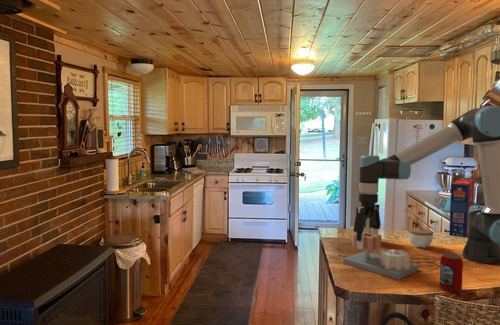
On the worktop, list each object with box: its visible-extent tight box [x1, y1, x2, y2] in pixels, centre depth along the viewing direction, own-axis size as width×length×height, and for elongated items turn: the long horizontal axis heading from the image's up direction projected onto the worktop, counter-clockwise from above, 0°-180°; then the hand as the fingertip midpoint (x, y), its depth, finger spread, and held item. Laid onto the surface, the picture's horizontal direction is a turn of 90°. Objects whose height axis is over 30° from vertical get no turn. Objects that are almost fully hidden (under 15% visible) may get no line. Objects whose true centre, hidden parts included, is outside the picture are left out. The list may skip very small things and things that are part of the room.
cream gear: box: [379, 248, 411, 270], centre depth 148 cm, size 10×10×5 cm
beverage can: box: [439, 252, 464, 293], centre depth 130 cm, size 7×7×12 cm
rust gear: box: [352, 232, 383, 252], centre depth 157 cm, size 10×10×5 cm
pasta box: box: [448, 178, 476, 239], centre depth 210 cm, size 28×8×28 cm, turn 144°
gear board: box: [343, 249, 420, 280], centre depth 153 cm, size 24×16×8 cm, turn 42°
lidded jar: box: [408, 226, 434, 249], centre depth 181 cm, size 11×11×9 cm
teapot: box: [438, 197, 451, 214], centre depth 267 cm, size 15×15×11 cm
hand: (366, 246), depth 157 cm, fingers closed on rust gear, 10 cm apart
